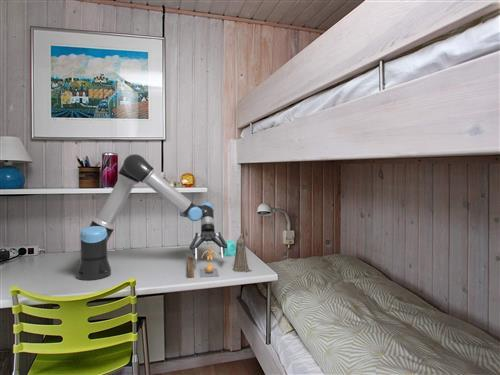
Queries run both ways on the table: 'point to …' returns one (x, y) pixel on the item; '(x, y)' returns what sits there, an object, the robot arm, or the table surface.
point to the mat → (205, 274)
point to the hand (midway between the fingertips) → (209, 259)
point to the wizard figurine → (241, 254)
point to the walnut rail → (190, 267)
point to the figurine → (209, 268)
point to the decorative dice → (230, 248)
